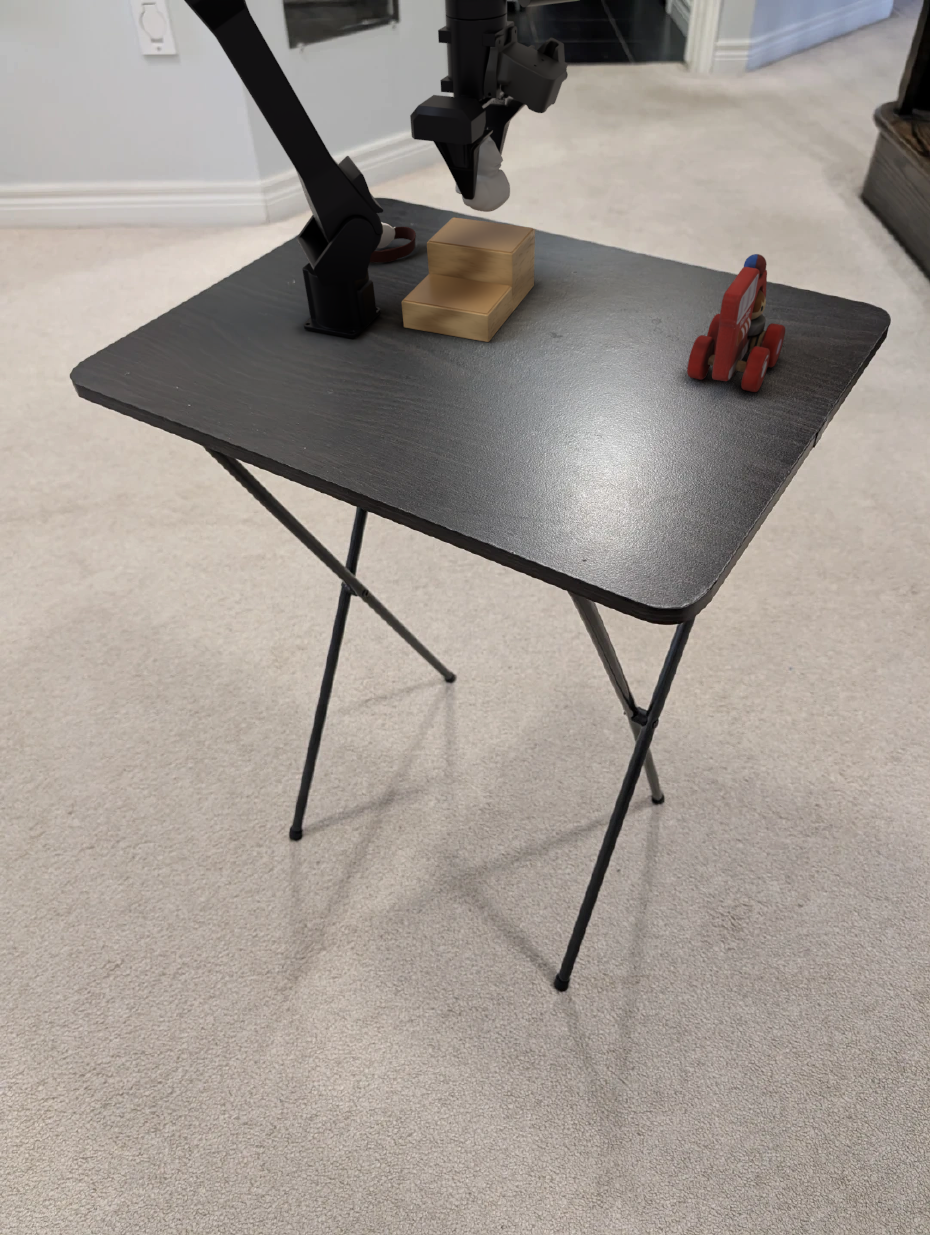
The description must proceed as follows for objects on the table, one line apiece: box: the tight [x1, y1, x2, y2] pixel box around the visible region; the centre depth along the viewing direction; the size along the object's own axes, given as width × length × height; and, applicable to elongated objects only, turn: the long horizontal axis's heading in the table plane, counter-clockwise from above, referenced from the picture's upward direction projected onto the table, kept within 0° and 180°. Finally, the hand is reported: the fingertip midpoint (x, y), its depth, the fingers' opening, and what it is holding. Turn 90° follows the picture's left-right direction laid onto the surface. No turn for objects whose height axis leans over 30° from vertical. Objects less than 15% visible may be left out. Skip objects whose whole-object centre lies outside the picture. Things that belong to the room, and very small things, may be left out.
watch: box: [369, 221, 417, 263], centre depth 109 cm, size 8×5×4 cm, turn 115°
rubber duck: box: [454, 128, 511, 213], centre depth 92 cm, size 5×7×8 cm
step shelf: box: [401, 217, 536, 343], centre depth 97 cm, size 10×14×7 cm
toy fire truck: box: [686, 253, 786, 393], centre depth 84 cm, size 7×12×10 cm, turn 151°
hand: (479, 189), depth 93 cm, fingers closed on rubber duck, 5 cm apart
